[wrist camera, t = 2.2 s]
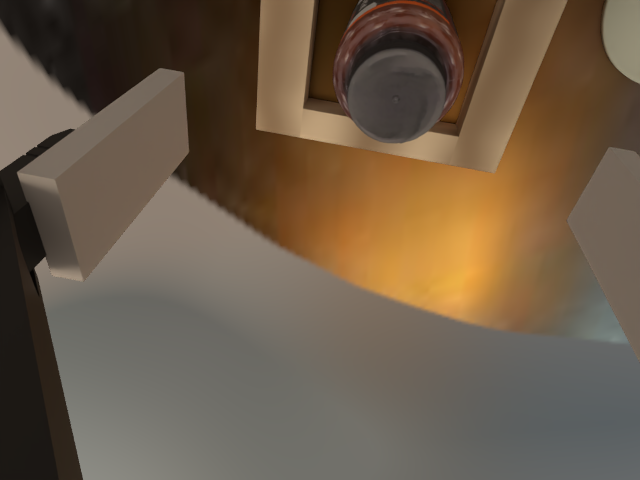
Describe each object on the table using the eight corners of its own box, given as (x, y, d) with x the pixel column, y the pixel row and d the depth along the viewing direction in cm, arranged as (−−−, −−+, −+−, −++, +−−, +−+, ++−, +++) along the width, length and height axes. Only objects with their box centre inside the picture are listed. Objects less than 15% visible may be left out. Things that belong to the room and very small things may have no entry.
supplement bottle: (339, -12, 26) (305, 37, 17) (446, -40, 24) (468, -2, 16) (359, 89, 29) (340, 173, 20) (454, 70, 28) (476, 153, 19)
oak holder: (591, -92, 22) (605, -91, 21) (490, 159, 31) (494, 173, 29) (276, -142, 23) (266, -145, 21) (263, 117, 32) (256, 129, 30)
